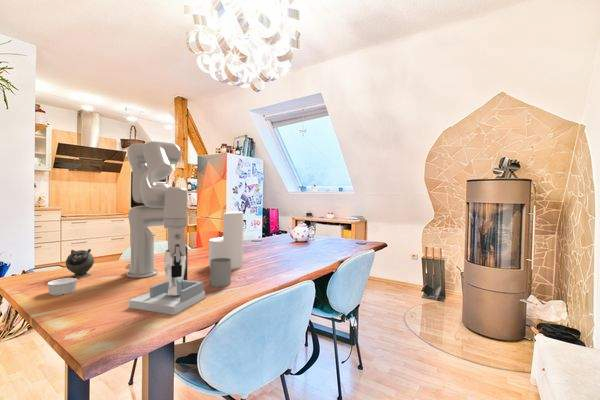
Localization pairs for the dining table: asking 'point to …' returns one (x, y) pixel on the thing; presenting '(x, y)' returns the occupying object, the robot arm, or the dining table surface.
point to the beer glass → (178, 282)
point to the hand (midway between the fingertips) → (175, 273)
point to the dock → (169, 298)
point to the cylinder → (229, 240)
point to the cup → (220, 272)
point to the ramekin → (62, 286)
